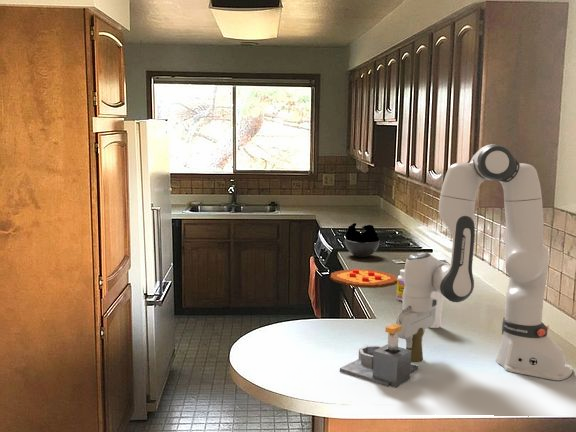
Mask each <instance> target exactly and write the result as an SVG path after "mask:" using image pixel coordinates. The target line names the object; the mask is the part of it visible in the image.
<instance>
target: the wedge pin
mask: <svg viewBox="0 0 576 432" xmlns="http://www.w3.org/2000/svg"><path fill="white" fill-rule="evenodd" d="M401 330H402V325H398V324H396V323H392V324H389V325H387V326H386V327H385V333H387V344H388V349H387V352H390V353H393V354H396V353H398V347H399V338H398V337H399V331H401Z"/></svg>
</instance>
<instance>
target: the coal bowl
mask: <svg viewBox="0 0 576 432" xmlns="http://www.w3.org/2000/svg"><path fill="white" fill-rule="evenodd" d="M356 226H357V222H353V223H352V224H350V225H349V226H348V227H347V230H346V233H345V238H344V244H345V247H346V249H347V250H348V252H349V253H350V254H352V255H353V256H355V257H358V258H366V257H370V256H371V255H373V254H374V253H376V251H377V250H378V248H379V246H380V243H381V241H380V238H379V236H378V234H377V231H376V230H375V227H374V225H372V224H367V225H366V224H365V225H363V226H361V228H362V229H364V230H365V231H363V232H362V233H360V232H359V231H358V230H357V229H356Z"/></svg>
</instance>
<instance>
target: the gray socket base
mask: <svg viewBox="0 0 576 432" xmlns="http://www.w3.org/2000/svg"><path fill="white" fill-rule="evenodd" d="M387 349H388V343H387V344H385V345H382V346H381V345H365V346H363V347H360V348H359V349H358V359H356V360H354V361H351V362H350V363H347V364H345V365H343V366H341V367H339V372H341V373H344V374H348V375H350V376H353V377H357V378H359V379H362V380H365V381H369V382H371V383H375V384H378V385H381V386H385V387H387V388H388V387H393V388H398V387H400V386H402V385H403V384H405V383H407V382H408V381H410V380H411V374H413V373H415V372H417V371H418V370H419V366H418V365H417V364H412V362H411V350H408V349H406V348H404V347H400V346H398V353H396V354H393V353H390V352H387Z"/></svg>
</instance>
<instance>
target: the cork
mask: <svg viewBox="0 0 576 432" xmlns="http://www.w3.org/2000/svg"><path fill="white" fill-rule="evenodd" d="M422 335H423V328H419V329H418V332H417V333H416V334H414V335H413V338H412V342H414V344H413V347H412V348H407V347H406V346H405V349H408V350H411V363H421V362H423V361H424V355H423V353H424V352H423V339H422V340H421V336H422ZM423 336H424V335H423Z"/></svg>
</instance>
